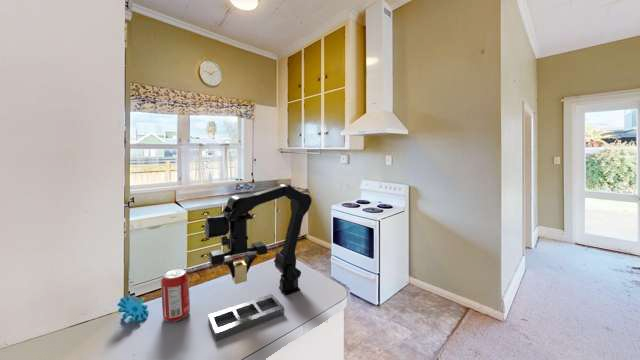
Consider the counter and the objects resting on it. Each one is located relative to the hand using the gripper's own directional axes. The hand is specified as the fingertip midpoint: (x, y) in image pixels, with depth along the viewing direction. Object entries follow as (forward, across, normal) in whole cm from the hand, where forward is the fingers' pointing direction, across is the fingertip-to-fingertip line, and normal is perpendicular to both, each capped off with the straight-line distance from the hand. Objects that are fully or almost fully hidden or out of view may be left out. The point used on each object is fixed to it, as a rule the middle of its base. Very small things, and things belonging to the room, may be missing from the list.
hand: (239, 276), depth 89 cm
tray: (+12, 0, +8) cm, 14 cm away
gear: (+12, +31, -12) cm, 35 cm away
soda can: (+12, +19, -6) cm, 23 cm away
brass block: (+2, 0, 0) cm, 2 cm away
